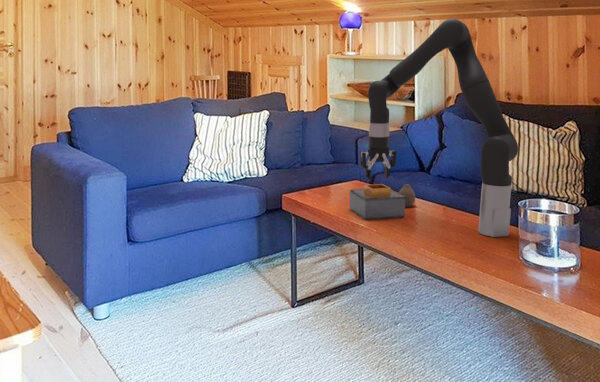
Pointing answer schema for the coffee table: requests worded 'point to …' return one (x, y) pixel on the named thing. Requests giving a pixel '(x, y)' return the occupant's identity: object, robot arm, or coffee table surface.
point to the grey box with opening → (377, 202)
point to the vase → (408, 195)
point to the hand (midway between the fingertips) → (377, 178)
